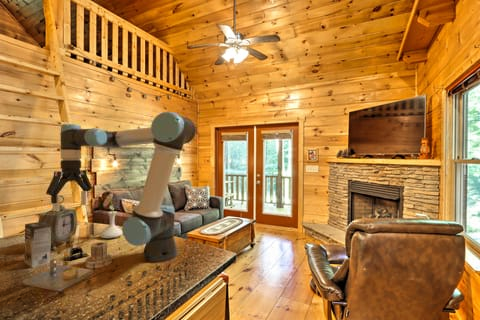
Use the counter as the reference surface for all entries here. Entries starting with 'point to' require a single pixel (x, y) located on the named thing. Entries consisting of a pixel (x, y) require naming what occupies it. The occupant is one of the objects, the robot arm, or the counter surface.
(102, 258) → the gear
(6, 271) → the counter surface
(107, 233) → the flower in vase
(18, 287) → the counter surface
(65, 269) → the carrier
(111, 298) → the counter surface
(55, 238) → the tabletop clock
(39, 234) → the coffee box
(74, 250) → the black piece
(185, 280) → the counter surface
